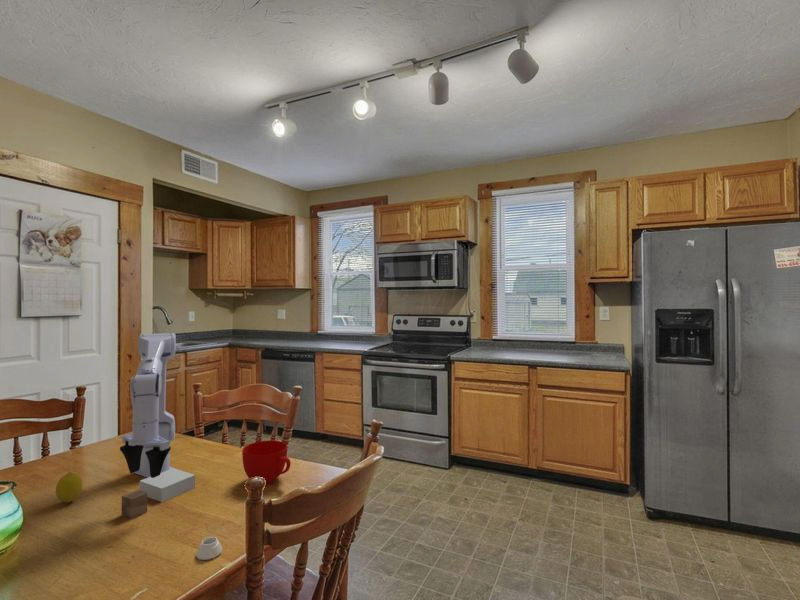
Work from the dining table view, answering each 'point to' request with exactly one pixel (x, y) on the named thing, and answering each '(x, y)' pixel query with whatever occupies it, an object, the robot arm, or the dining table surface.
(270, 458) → the ceramic cup
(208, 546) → the white tapered collar
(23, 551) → the dining table surface
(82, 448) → the dining table surface
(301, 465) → the dining table surface
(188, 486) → the base block
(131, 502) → the walnut block
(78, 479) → the lemon
